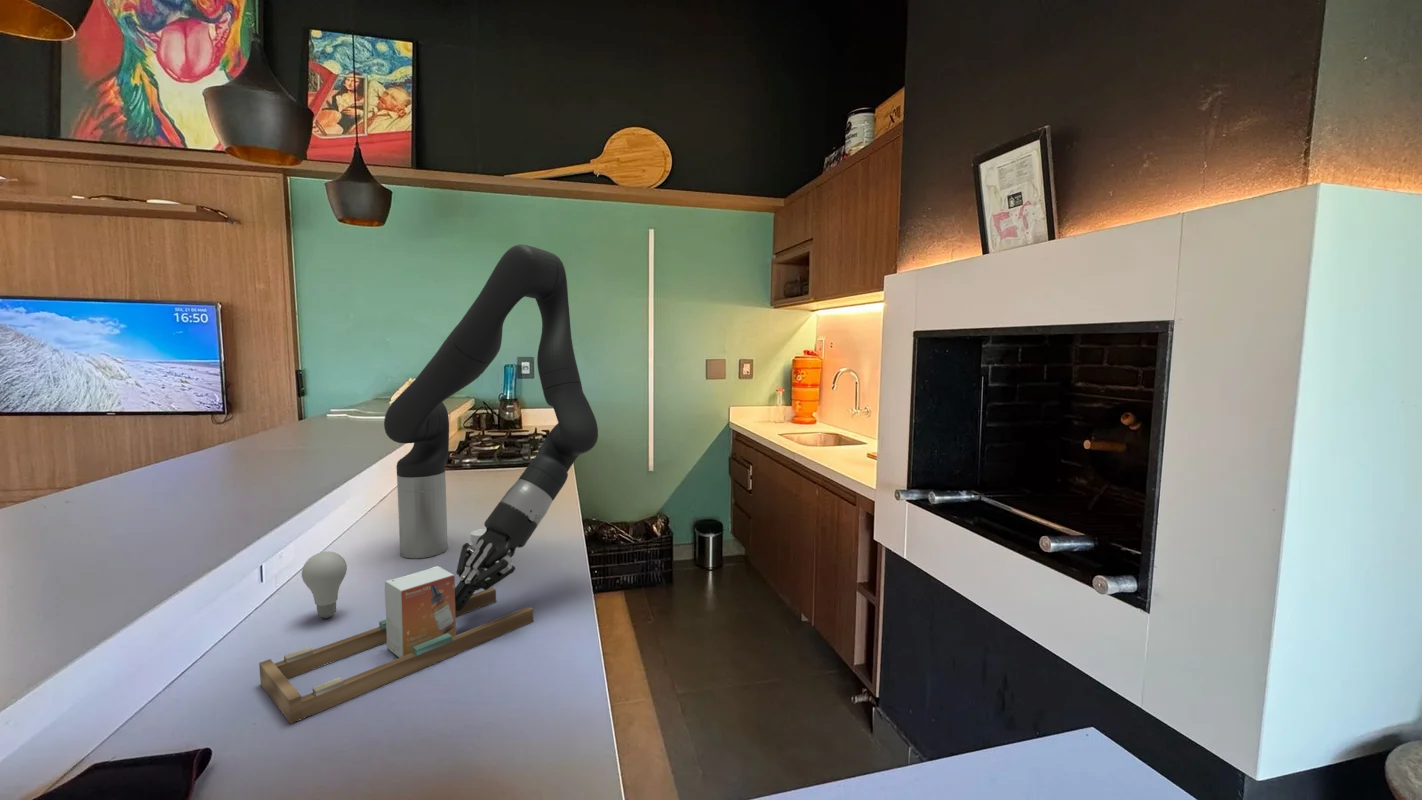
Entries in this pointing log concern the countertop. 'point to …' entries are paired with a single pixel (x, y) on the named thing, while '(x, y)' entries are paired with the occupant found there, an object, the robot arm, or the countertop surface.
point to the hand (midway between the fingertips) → (452, 607)
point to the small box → (419, 609)
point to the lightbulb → (324, 580)
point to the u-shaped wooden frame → (343, 690)
